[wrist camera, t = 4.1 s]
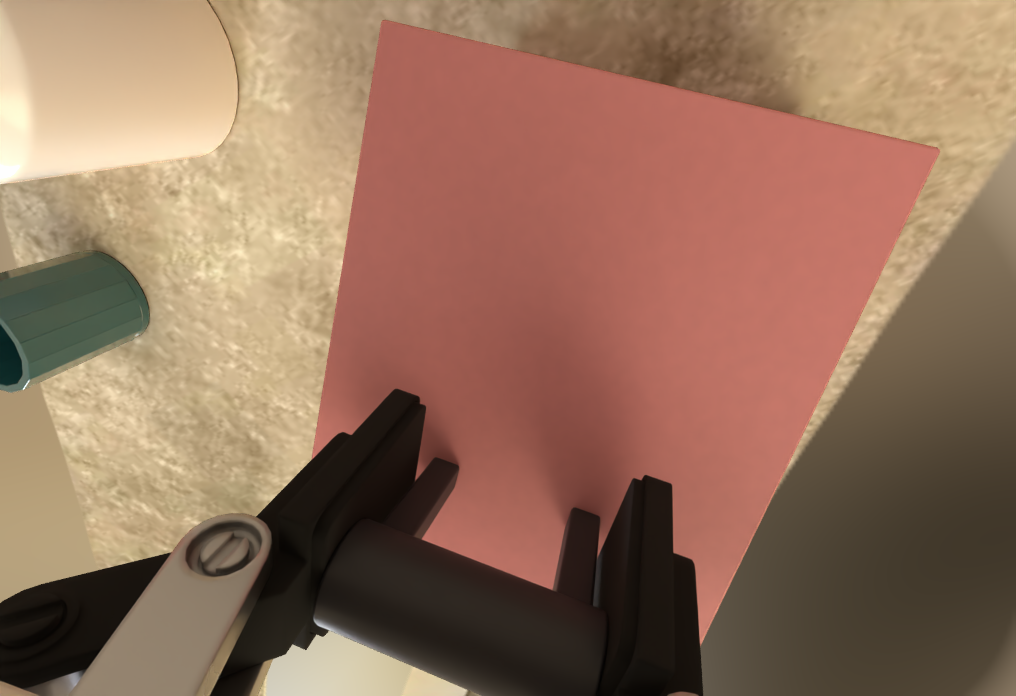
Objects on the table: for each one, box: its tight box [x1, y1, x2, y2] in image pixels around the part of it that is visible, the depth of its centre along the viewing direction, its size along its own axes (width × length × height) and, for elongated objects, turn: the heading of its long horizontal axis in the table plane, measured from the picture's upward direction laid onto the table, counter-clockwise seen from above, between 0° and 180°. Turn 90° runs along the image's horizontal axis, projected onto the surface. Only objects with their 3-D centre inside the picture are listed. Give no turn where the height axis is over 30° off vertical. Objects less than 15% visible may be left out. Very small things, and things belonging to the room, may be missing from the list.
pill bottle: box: [0, 0, 238, 184], centre depth 18 cm, size 8×8×11 cm
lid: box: [312, 20, 940, 696], centre depth 9 cm, size 12×11×6 cm
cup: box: [0, 250, 149, 393], centre depth 27 cm, size 5×5×6 cm
